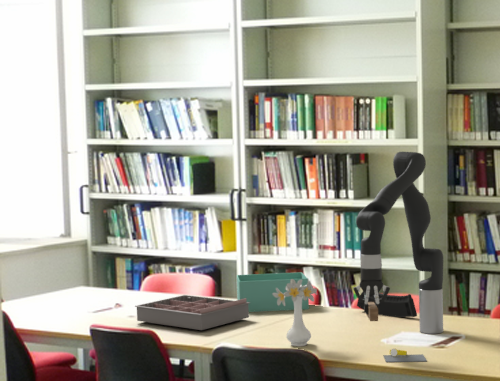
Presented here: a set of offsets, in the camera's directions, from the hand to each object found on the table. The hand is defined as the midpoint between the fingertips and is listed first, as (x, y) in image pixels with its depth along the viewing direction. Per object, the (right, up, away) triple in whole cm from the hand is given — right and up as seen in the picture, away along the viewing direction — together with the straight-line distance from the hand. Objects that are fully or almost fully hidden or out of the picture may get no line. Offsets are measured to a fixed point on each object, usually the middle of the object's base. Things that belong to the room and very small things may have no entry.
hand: (371, 313), depth 315 cm
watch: (+10, -13, -4) cm, 17 cm away
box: (-33, -11, +97) cm, 103 cm away
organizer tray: (-69, -13, +67) cm, 97 cm away
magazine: (+16, -10, +68) cm, 71 cm away
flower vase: (-26, -14, +15) cm, 33 cm away
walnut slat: (0, -1, 0) cm, 1 cm away
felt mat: (+10, -14, -11) cm, 20 cm away
